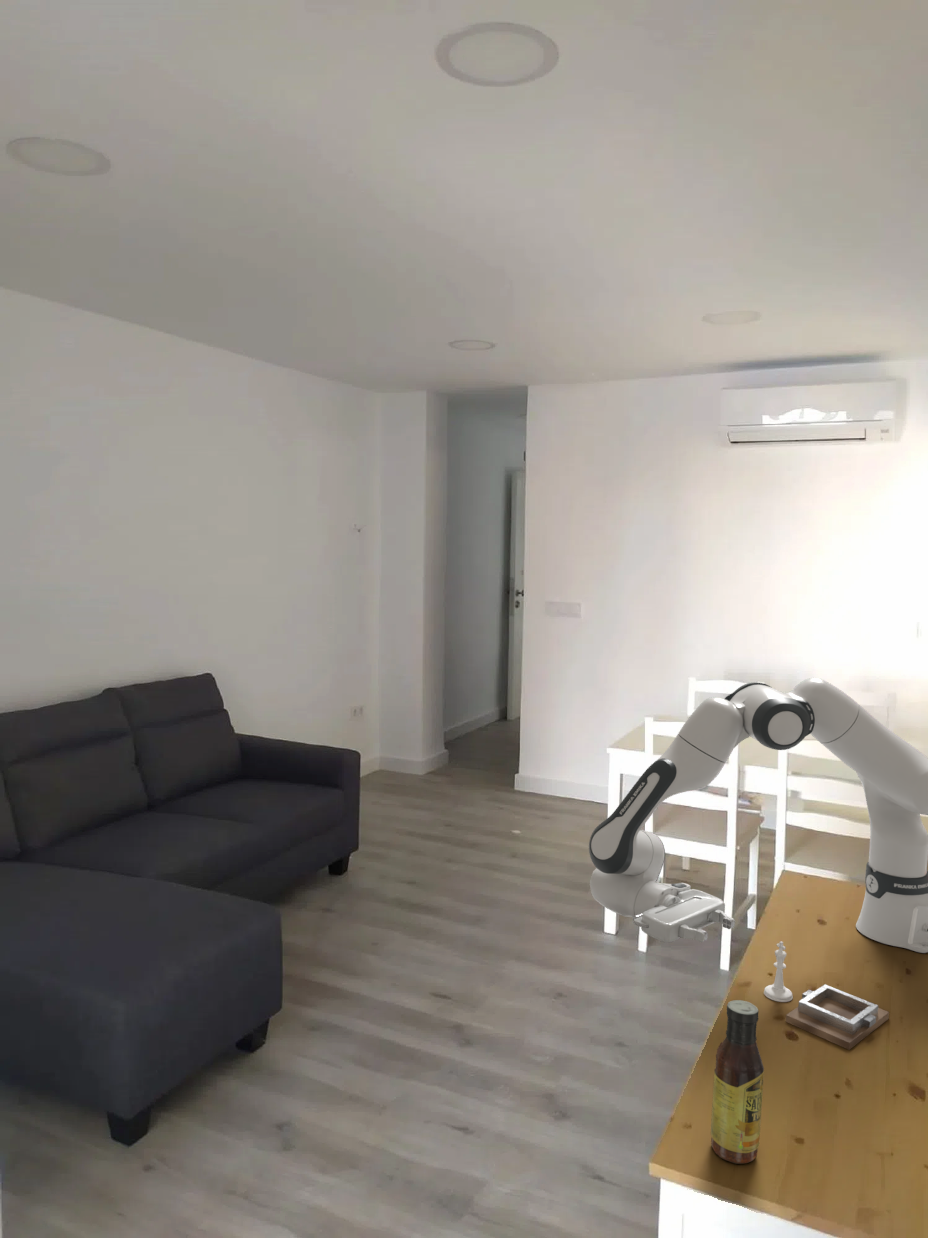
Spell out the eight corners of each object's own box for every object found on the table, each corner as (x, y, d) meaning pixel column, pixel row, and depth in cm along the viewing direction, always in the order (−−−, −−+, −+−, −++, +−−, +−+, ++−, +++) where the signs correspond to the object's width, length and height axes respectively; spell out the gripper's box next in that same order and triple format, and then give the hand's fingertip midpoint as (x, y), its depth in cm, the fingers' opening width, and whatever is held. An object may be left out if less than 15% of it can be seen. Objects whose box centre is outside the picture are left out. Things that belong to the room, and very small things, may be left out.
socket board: (785, 1021, 153) (786, 1015, 152) (827, 994, 163) (827, 987, 162) (849, 1050, 144) (849, 1043, 144) (888, 1019, 154) (889, 1012, 154)
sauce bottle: (751, 1174, 115) (760, 1026, 113) (703, 1155, 118) (711, 1011, 117) (764, 1145, 121) (772, 1004, 119) (718, 1128, 124) (725, 991, 122)
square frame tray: (791, 1008, 155) (792, 998, 154) (818, 991, 161) (818, 982, 161) (859, 1038, 146) (860, 1027, 146) (884, 1018, 152) (885, 1008, 152)
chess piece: (778, 1004, 158) (782, 950, 157) (757, 992, 163) (761, 939, 162) (798, 998, 161) (801, 945, 160) (777, 986, 165) (780, 934, 164)
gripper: (628, 904, 173) (689, 929, 163) (688, 881, 187) (748, 902, 176) (626, 935, 173) (687, 962, 163) (687, 910, 187) (746, 933, 177)
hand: (719, 931), depth 170 cm, fingers open, 8 cm apart
